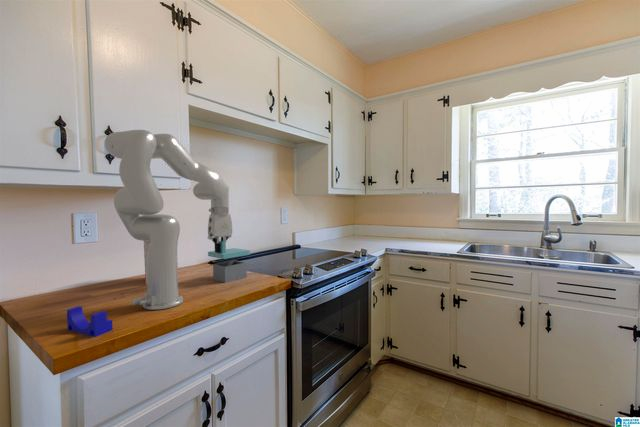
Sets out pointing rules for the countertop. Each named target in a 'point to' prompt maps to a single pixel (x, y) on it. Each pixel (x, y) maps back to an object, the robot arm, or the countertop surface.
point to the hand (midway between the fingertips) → (219, 251)
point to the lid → (228, 252)
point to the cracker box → (146, 246)
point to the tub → (229, 271)
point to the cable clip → (81, 325)
